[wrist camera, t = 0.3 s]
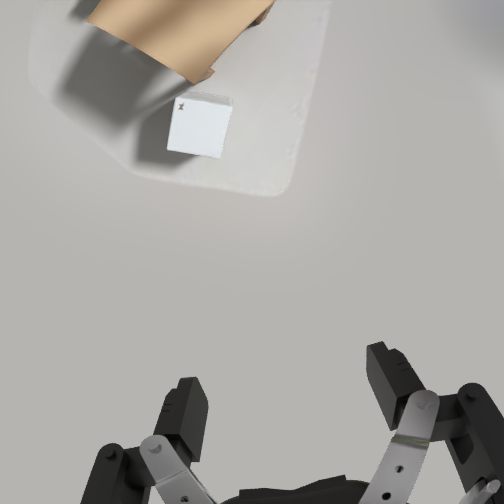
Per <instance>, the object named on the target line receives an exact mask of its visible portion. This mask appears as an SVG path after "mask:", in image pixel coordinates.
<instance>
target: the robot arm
mask: <svg viewBox="0 0 504 504" xmlns="http://www.w3.org/2000/svg"><path fill="white" fill-rule="evenodd" d="M366 365H367V366H366V371H367V377H368V380H369V383H370V385H371V387H372V389H373V392H374V394H375V396H376V398H377V401H378V403H379V405H380V408H381V410H382V412H383V415H384V417H385V419H386V422H387V424H388V427H389V429H390V431H392V430H395V429H397V431H396V433H395V436H394V437H393V438H392V439H391V441H390V444H389V446H388V448H387V450H386V452H385V454H384V457H383V459H382V461H381V463H380V465H379V467H378V469H377V471H376V473H375V475H374V477H373V479H372V480H371V482H370V483H368V482H364V481H358V480H346V477H345V475H341V476H337V477H332V478H328V479H323V480H318V481H316V482H314V483H311V484H309V485H306V486H303V487H300V488H298V489H295V490H280V489H269V488H259V489H243V490H240V491H239V496H236V497H233V498H231V499H228V500H226V501H224V502H223V503H221V504H409V503H407V500H408V498H409V496H410V494H411V491H412V489H413V487H414V484H415V482H416V480H417V477H418V475H419V472H420V469H421V467H422V464H423V461H424V458H425V456H426V453H427V449H428V446H429V442H435V441H442V440H445V442H446V444H447V447H448V449H449V452H450V454H451V456H452V459H453V461H454V464H455V466H456V469H457V471H458V474H459V476H460V479H461V482H462V484H463V487H464V490H465V492H466V495H465V496H464V497H463V498H462V499H461V501H460V503H459V504H504V418H503V416H502V414H501V413H500V411H499V410H498V408H497V406H496V405H495V403H494V402H493V400H492V399H491V397H490V396H489V394H488V393H487V391H486V390H485V389H484V387H482V386H481V385H480V384H477V383H468V384H465V385H463V386H462V387H461V388H460V389H459V391H458V394H452V395H445V396H438V395H437V394H436V393H435V392H433V391H430V390H426V388H425V387H424V385H423V384H422V382H421V381H420V379H419V377H418V376H417V374H416V373H415V371H414V370H413V368H412V367H411V365H410V363H409V362H408V361H407V359H406V357H405V356H404V354H403V353H401V352H400V351H398V350H396V349H395V348H394V349H391V350H388V349H387V347H386V345H385V344H384V342H383V341H381V342H378V343H374V344H371V345H368V346H367V362H366ZM207 413H208V401H207V397H206V396H205V393H204V391H203V389H202V387H201V385H200V382H199V381H198V378H197V377H187V378H181V379H180V380H179V383H178V386H177V388H176V389H172V390H171V391H170V392H169V393H168V394H167V396H166V397H165V400H164V403H163V406H162V409H161V412H160V415H159V418H158V421H157V424H156V427H155V430H154V433H153V435H152V436H149V437H147V438H146V439H144V440H143V442H142V443H141V445H140V446H139V447H134V448H129V449H123V448H122V447H121V446H120V445H118V444H116V443H110V444H107V445H105V446H103V447H102V448H101V449H100V451H99V452H98V455H97V457H96V460H95V463H94V466H93V468H92V471H91V474H90V477H89V480H88V482H87V485H86V488H85V491H84V494H83V497H82V500H81V503H80V504H148V501H149V495H150V490H151V486H155V487H156V489H157V491H158V493H159V494H160V496H161V498H162V500H163V501H164V503H165V504H218V503H217V502H216V501H215V499H214V498H213V497H212V496H211V495H210V494H209V492H208V491H207V490H206V489H205V487H204V486H203V485H202V483H201V482H200V481H199V480H198V478H197V477H196V476H195V474H194V473H193V472H192V470H191V469H190V465H191V462H199V461H200V455H201V449H202V443H203V436H204V431H205V425H206V420H207Z"/></svg>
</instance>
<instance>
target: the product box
mask: <svg viewBox="0 0 504 504" xmlns="http://www.w3.org/2000/svg"><path fill="white" fill-rule="evenodd" d="M232 110H233V99H232V98H228V97H223V96H218V95H213V94H207V93H200V92H193V91H186V92H184V93H183V94H181V95H179V96H177V97H176V98H175V101H174V106H173V111H172V117H171V123H170V129H169V136H168V143H167V150H170V151H176V152H182V153H188V154H193V155H199V156H205V157H210V158H216V159H220V157H221V154H222V150H223V146H224V142H225V138H226V134H227V130H228V126H229V122H230V118H231V113H232Z"/></svg>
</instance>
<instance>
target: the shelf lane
mask: <svg viewBox="0 0 504 504" xmlns="http://www.w3.org/2000/svg"><path fill="white" fill-rule="evenodd" d="M275 1H276V0H101V1H100V2H99V4H98V5H97V6H96V8H95V9H94V11H93V12H92V13H91V15H90V16H89V18H88V19H87V21H86V22H88V23H91V24H93V25H95V26H97V27H99V28H101V29H103V30H104V31H106V32H108V33H110V34H112V35H114V36H116V37H118V38H120V39H121V40H123V41H125V42H127V43H129V44H130V45H132V46H134V47H136V48H137V49H139V50H141V51H143V52H144V53H146V54H148V55H149V56H151V57H153V58H154V59H156V60H157V61H159V62H161V63H162V64H164V65H166V66H167V67H169V68H170V69H172V70H173V71H175V72H177V73H178V74H180V75H181V76H183V77H184V78H186V79H187V80H189V81H190V82H192V83H193V84H197V82H199V81H202V80H204V79H207V78H210V77H211V75H212V74H213V73H214V72H215V71H214V70H212V69H211V68H210V67H211V66H212V65H213V63H214V62H215V61H216V60H217V59H218V58H219V57H220V55H221V54H222V53H223V52H224V51H225V50H226V49H227V48H228V47H229V46H230V45H231V43H232V42H233V41H234V40H235V39H236V38H237V37H238V36H239V35H240V34H241V33H242V32H243V31H244V30H245V29H246V28H247V27H248V26H249V25H250V24H251V23H252V22H253V21H256V22H257V23H258V24H260V23H261V22H262V21H263V20H264V19H265V18H266V16H267V14H268V13H269V11H270V9H271V7H272V6H273V4H274V2H275Z"/></svg>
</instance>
